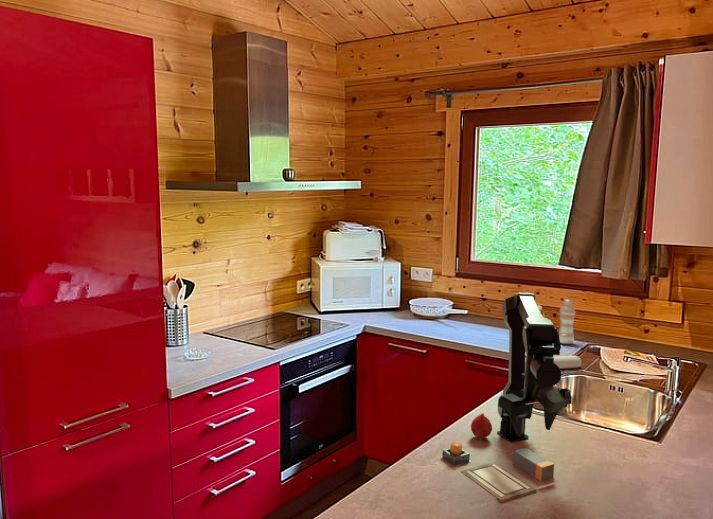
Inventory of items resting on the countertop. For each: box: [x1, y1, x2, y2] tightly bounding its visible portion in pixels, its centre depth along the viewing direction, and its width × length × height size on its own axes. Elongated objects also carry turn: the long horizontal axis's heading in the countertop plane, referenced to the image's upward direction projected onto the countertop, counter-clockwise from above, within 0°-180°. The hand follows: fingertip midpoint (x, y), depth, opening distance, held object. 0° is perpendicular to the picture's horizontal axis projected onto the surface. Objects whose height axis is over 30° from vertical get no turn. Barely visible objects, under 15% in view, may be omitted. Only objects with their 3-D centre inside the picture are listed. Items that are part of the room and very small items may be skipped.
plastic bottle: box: [558, 297, 576, 345], centre depth 270 cm, size 6×7×20 cm
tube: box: [525, 355, 582, 370], centre depth 237 cm, size 5×5×25 cm
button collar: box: [439, 447, 473, 467], centre depth 162 cm, size 6×6×2 cm
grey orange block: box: [512, 447, 555, 482], centre depth 157 cm, size 4×10×4 cm, turn 28°
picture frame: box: [460, 461, 537, 503], centre depth 151 cm, size 11×15×1 cm
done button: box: [449, 441, 463, 456], centre depth 162 cm, size 3×3×2 cm
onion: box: [470, 412, 493, 440], centre depth 174 cm, size 6×6×8 cm
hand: (533, 432), depth 154 cm, fingers open, 9 cm apart
